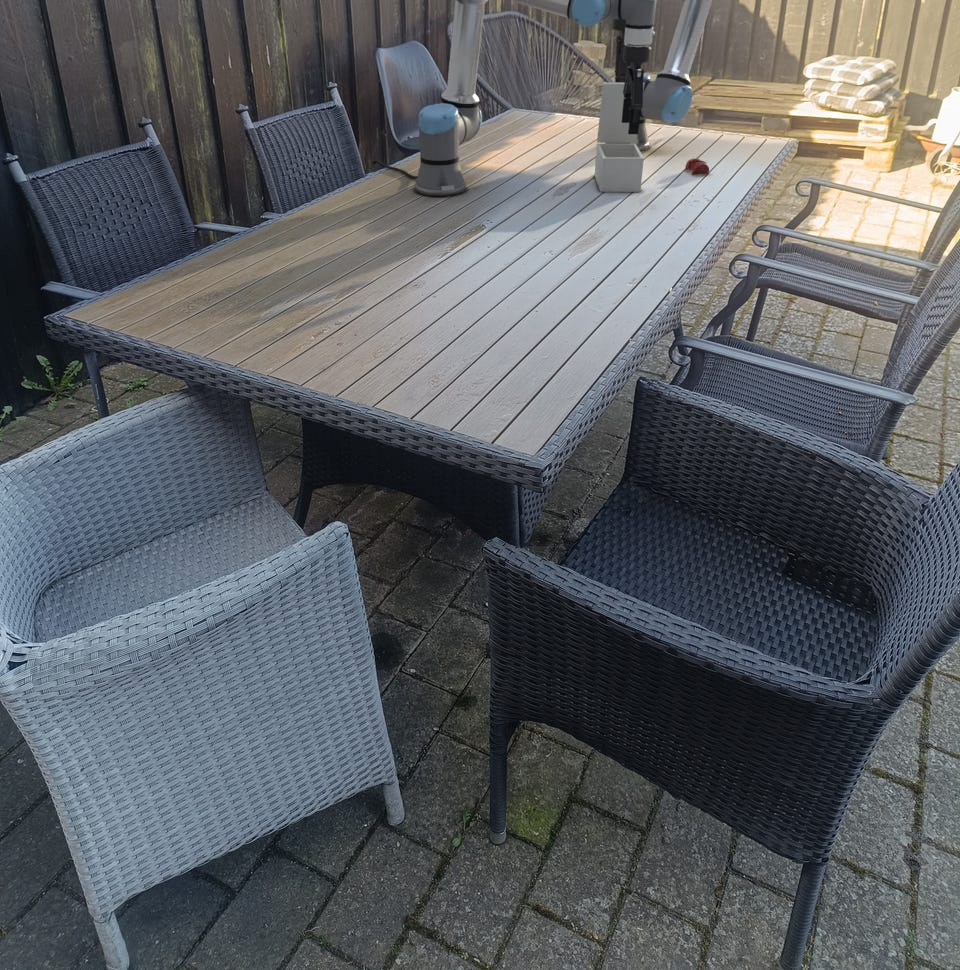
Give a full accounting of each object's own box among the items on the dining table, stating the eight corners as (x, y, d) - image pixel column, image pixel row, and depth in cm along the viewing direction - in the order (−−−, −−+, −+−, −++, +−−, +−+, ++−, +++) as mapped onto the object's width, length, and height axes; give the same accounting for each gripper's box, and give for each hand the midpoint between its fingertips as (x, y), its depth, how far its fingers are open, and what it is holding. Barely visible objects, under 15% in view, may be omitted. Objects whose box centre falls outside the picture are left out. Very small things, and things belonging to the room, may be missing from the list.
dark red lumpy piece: (700, 154, 275) (711, 161, 268) (699, 168, 277) (710, 175, 271) (684, 156, 274) (695, 163, 267) (683, 169, 276) (694, 176, 270)
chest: (640, 191, 257) (643, 158, 251) (600, 191, 257) (603, 158, 251) (632, 175, 271) (635, 143, 265) (594, 175, 271) (596, 143, 265)
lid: (644, 83, 251) (640, 71, 257) (603, 83, 251) (600, 71, 257) (636, 142, 264) (633, 130, 270) (597, 142, 264) (594, 129, 270)
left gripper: (659, 52, 218) (649, 138, 230) (644, 38, 238) (636, 118, 250) (630, 52, 218) (622, 139, 230) (617, 38, 238) (611, 118, 251)
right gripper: (642, 17, 242) (633, 106, 256) (635, 11, 254) (627, 95, 267) (616, 17, 242) (609, 106, 256) (610, 11, 254) (603, 96, 267)
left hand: (629, 128), depth 240 cm, fingers open, 13 cm apart
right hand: (618, 100), depth 261 cm, fingers closed on lid, 1 cm apart
